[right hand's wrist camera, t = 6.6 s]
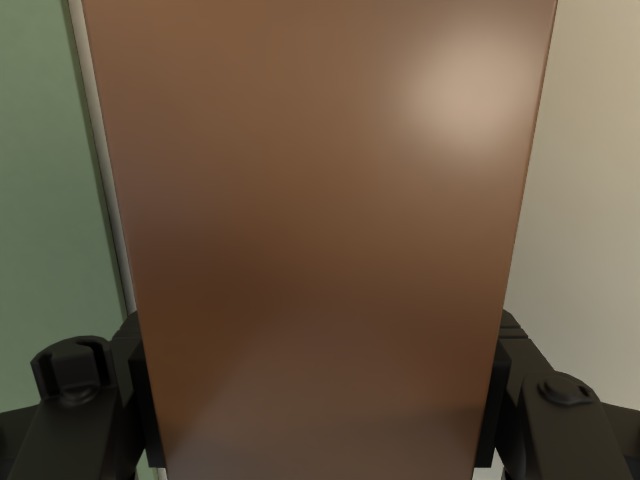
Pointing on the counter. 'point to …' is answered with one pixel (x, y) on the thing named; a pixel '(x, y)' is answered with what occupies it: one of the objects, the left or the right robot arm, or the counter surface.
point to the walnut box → (319, 222)
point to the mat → (49, 202)
